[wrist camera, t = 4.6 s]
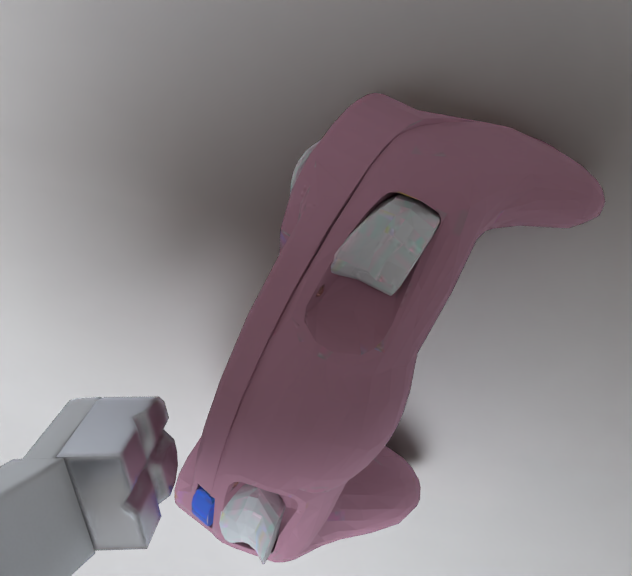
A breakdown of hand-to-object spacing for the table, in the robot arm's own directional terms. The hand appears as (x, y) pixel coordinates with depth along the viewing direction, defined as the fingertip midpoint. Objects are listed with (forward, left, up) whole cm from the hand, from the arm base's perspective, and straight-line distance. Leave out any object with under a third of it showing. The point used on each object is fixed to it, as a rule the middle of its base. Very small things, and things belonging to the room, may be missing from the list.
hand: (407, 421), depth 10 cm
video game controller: (0, 0, -5) cm, 5 cm away
